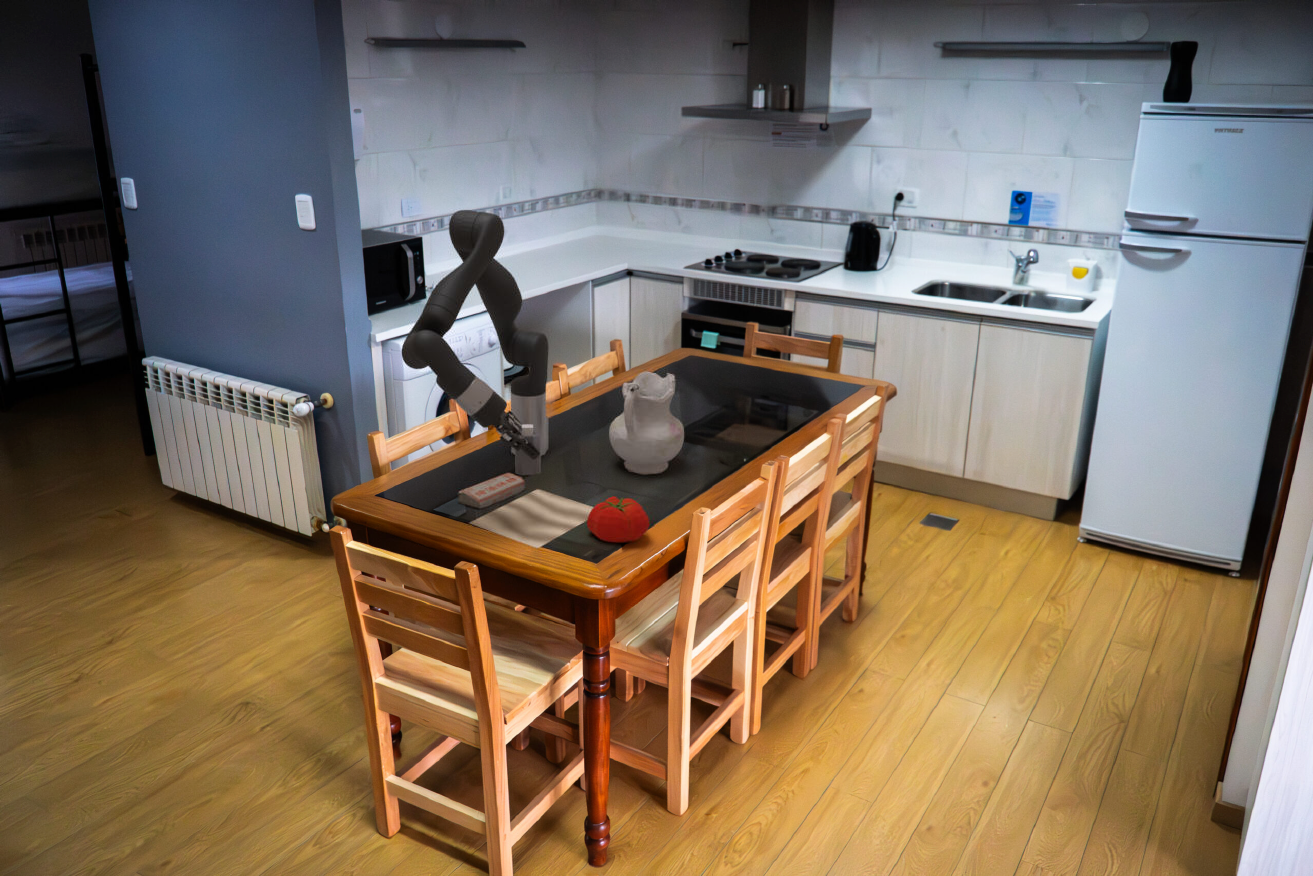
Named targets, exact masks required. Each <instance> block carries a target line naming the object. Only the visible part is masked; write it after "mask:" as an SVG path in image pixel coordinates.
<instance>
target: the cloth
mask: <svg viewBox="0 0 1313 876" xmlns="http://www.w3.org/2000/svg"><path fill="white" fill-rule="evenodd" d="M594 507H595V506H594ZM594 507H593V506H591V505H588V504H584V503H582V502H578V501H576V500H573V499H570V498H567V497H564V496H560V495H557V494H554V493H553V492H552V493H551V492H548V491H547V490H543V489H540V488H537V489H535V490H533V491H531V492H529V493H527V494H525V495H522V496H521V497H520V496H519V498H517V499H514V500H512V501H510V502H509V503H506V504H504V505H502V506H501V507H498V508H496V509H494V510H493V511H490V512H488V513H486V514H485V515H482V516H480V517H478V518H476V519H474V520H471V521H470V522H468V524H470V525H472V526H476V527H477V528H480V529H484V530H486V531H489V532H492V533H494V534H498V535H500V536H501V537H506V538H508V539H511V540H514V541H516V542H519V543H522V544H524V545H527V546H530V547H533V548H536V549H539V548H541V547H543V546H544V545H547V544H548V543H549V542H551V541H553V540H555V539H557V538H558V537H561V536H563V535H564V534H566V533H568V532H569V531H572V530H573V529H575V528H576V527H578V526H579V525H581V524H583V523H585V522H587V520H588V516H589V513H590V512H591V510H592V509H593V508H594Z"/></svg>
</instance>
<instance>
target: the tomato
mask: <svg viewBox="0 0 1313 876" xmlns="http://www.w3.org/2000/svg"><path fill="white" fill-rule="evenodd" d="M586 525H587V529H588V530H589V531H590V532H591V533H592V534H593V535H595V536H596V537H597V538H598V539H600V540H601V541H604V542H607V543H617V544H618V543H620V544H623V543H629V542H635V541H636V540H638V539H641V538H642V537H643V536H644V535H645V533H646V532H647V531H648V529H649V527H650V519H649V517H648V515H647V513H646V511H644V508H643V506H642V505H641V504H639V502H637V501H636V500H634V499H633V498H624V497H621V498H620V499H619V498H618V497H616V496H611V497H608V498H607V499H605V500H603V501H602V502H599V503H597V504H596V505H595V506H594V508H593V509H592V510H591V512H590V513H589V516H588V520H587V521H586Z"/></svg>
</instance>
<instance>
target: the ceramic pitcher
mask: <svg viewBox="0 0 1313 876" xmlns="http://www.w3.org/2000/svg"><path fill="white" fill-rule="evenodd" d="M676 380H677V379H676V375H675V374H672V373H669V372H667V373H666V376H665V377H661V375H659V374H657V373H655V372H652V371H651V372H650V371H646V370H645V371H643V372H640V373H639V374H637V376H636V377H635V378H634V379H633V381H632V382H624V383H622V388H621V391H622V396H623V401H624V403H623V412H622V413H621V414H619V416H618V415H617V417H615V418H614V420H612V422H611V423H610V426H609V430H608V435H609V436H608V437H609V441H610V445H611V446H612V449H613V451H614V452H615V453H616V454H617V456H619V457H620V458H621V459H622V460H624V461H623V466H624V468H625V469H627V471H628V472H630V473H635V474H639V475H643V476H644V475H653V474H662V473H663V472H665V471H666V470H667V469H668V468H669V466H670V465H669V464H670V463H669V462H670V461H672V460H673V459H674V458H675V457H676V456H677V455H678V454H679V452H680V451H681V449H682V448H683V444H684V441H685V440H684V439H685V430H684V429H685V428H684V425H683V422H681V421H680V420H679V418H677V417H676V416H674V415H673V414H672V413H671V411H670V407H671V402H672V399H673V397H674V394H675V390H676Z"/></svg>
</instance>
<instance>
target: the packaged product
mask: <svg viewBox="0 0 1313 876" xmlns="http://www.w3.org/2000/svg"><path fill="white" fill-rule="evenodd" d="M526 489H527V484H526V483H525V480H524V479H523V478H522V476H519V475H516V474H514V473H511V472H506V473H503V474H501V475H498V476H495V477H492V478H489V479H487V480H485V481H482V482H479V483H476V484H474V485H472V486H469V487H467V488H463V489H461V490H459V491H458V493H457V497H458V499H457V500H458V503H460V504H461V505H467V506H470V507H473V508H476V509H479V510H481V509H483V508H486V507H489V506H491V505H494V504H496V503H498V502H502V501H504V500H506V499H509V498H511V497H512V496H515V495H517V494H520V493H521V492H522V491H524V490H526Z"/></svg>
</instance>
